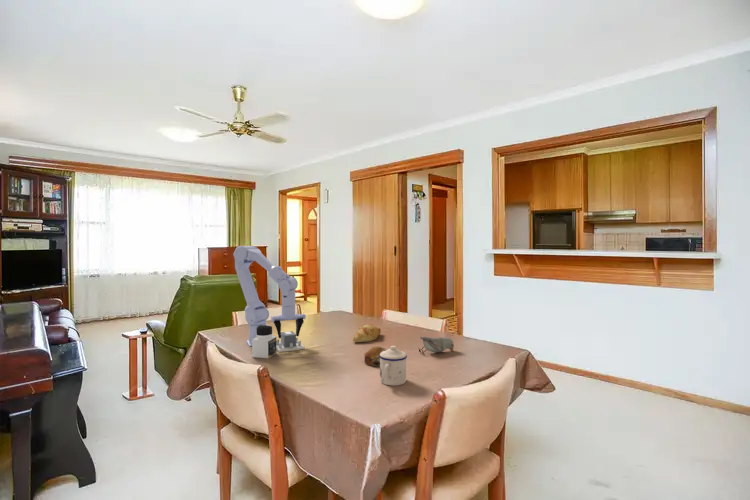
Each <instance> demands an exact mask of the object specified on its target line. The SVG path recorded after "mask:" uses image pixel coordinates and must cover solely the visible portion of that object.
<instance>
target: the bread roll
mask: <svg viewBox="0 0 750 500" xmlns="http://www.w3.org/2000/svg"><path fill="white" fill-rule="evenodd" d="M386 350H387V348H385V347H383V346H380V345H375V346H371V347H369V349H368V350H366V351H365V353H364V363H365V365H367V366H370V367H380V357H379V355H380V353H381V352H383V351H386Z"/></svg>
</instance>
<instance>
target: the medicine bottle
mask: <svg viewBox="0 0 750 500" xmlns="http://www.w3.org/2000/svg"><path fill="white" fill-rule="evenodd" d="M276 340H277V336H275V335H273V326H271V325H270V324H266V325H260V326H258V327H257V338H255V339H253V340H252V346H251V349H252V350H251V351H252V352H251V357H252V358H257V359H270V358H271V357H273V356H274V355H276V354H277V349H276Z"/></svg>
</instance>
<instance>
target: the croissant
mask: <svg viewBox="0 0 750 500" xmlns="http://www.w3.org/2000/svg"><path fill="white" fill-rule="evenodd" d="M381 333H382V332H381V328H380V327H376V326H375V325H373V324H371V323H370V324H365V325H361V326H360V327H359V328H358V330H357V332H356V333H355V334H354V336H353V337H352V342H354V343H365V342H372V341H375V340H376V339H378V337H379V336H380V334H381Z"/></svg>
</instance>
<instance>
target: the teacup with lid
mask: <svg viewBox="0 0 750 500" xmlns="http://www.w3.org/2000/svg"><path fill="white" fill-rule="evenodd" d="M379 357H380V366H379V381H380V383H381V384H383V385H386V386H393V387H395V386H402V385H404V384H405V383H406V381H407V358H408V356H407V353H406V352H405V351H402V350H400V349H398V348H397V346H396V345H391V346H390V347H389V348H388V349H386V351H383V352H381V353H380V355H379Z"/></svg>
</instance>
